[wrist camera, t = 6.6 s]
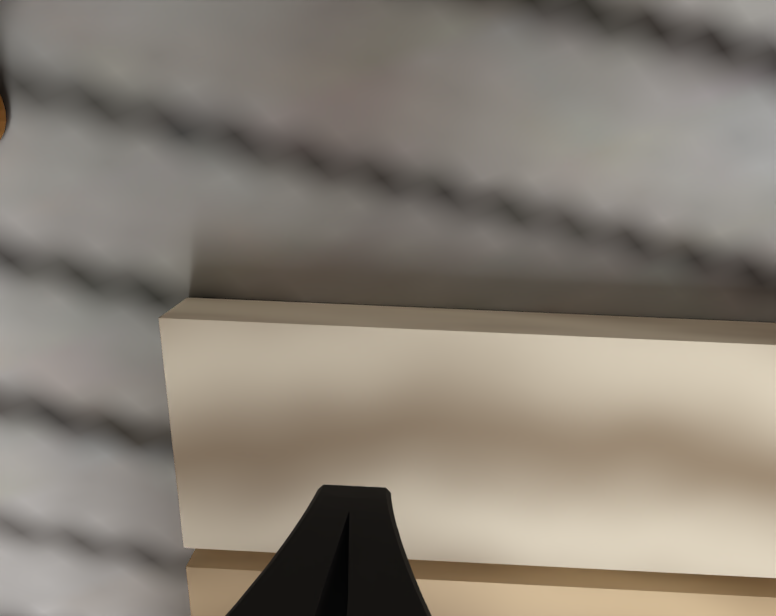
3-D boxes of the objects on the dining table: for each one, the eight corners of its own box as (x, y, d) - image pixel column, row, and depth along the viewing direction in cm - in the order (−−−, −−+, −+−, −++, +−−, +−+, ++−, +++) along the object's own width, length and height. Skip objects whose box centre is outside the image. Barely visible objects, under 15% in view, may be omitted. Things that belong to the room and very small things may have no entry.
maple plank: (870, 539, 18) (925, 585, 16) (206, 506, 19) (183, 547, 17) (956, 330, 16) (1032, 356, 14) (187, 297, 16) (158, 318, 14)
